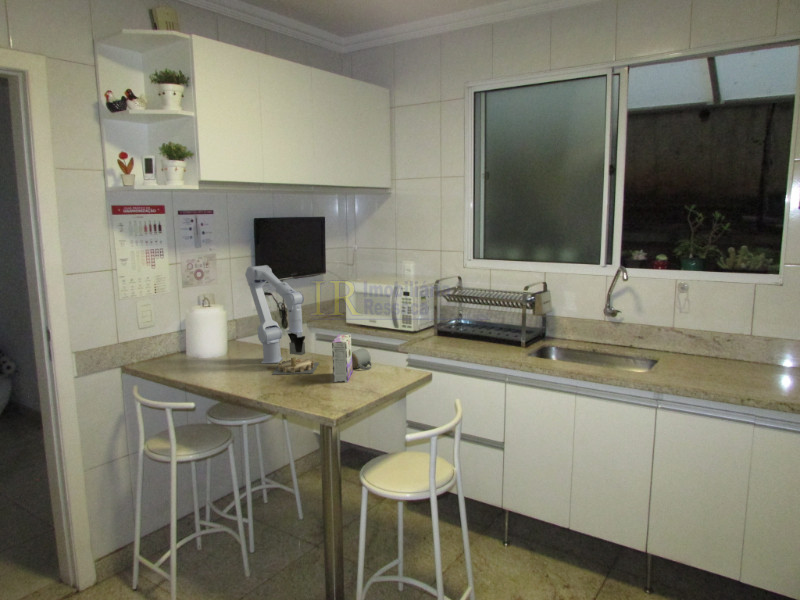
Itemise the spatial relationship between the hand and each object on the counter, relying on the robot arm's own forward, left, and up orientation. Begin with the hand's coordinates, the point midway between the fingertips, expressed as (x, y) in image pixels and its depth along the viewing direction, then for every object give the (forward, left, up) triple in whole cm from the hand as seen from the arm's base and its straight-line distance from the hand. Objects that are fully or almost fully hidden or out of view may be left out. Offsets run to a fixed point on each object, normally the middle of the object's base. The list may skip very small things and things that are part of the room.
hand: (297, 350), depth 239 cm
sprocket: (+3, 0, -7) cm, 8 cm away
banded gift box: (0, 0, -1) cm, 1 cm away
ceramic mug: (+4, +28, -8) cm, 29 cm away
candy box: (+18, +22, -8) cm, 30 cm away
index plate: (+3, 0, -7) cm, 8 cm away
